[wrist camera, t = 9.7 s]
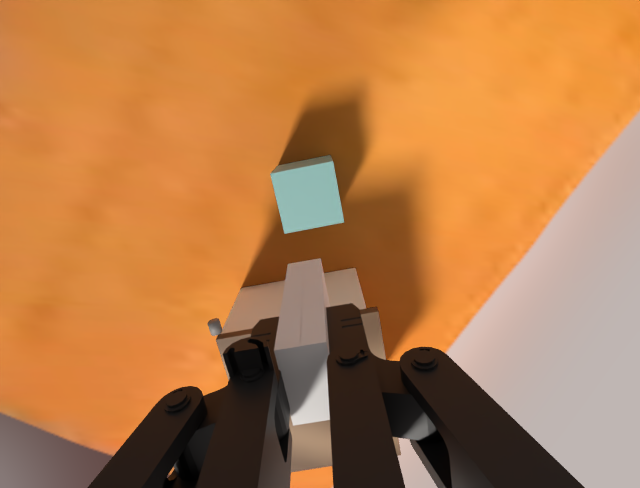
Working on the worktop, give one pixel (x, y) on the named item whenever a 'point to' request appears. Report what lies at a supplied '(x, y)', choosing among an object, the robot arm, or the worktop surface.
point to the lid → (316, 437)
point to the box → (268, 301)
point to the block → (307, 194)
